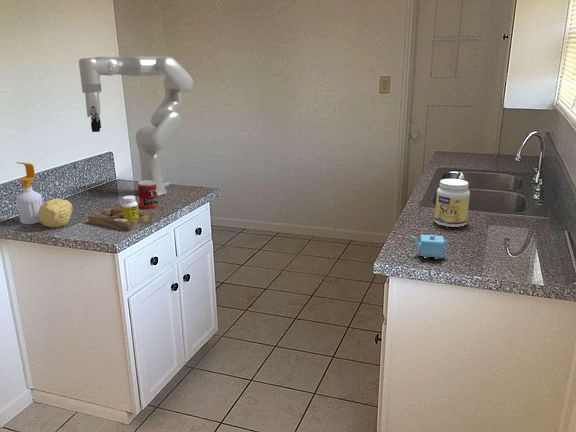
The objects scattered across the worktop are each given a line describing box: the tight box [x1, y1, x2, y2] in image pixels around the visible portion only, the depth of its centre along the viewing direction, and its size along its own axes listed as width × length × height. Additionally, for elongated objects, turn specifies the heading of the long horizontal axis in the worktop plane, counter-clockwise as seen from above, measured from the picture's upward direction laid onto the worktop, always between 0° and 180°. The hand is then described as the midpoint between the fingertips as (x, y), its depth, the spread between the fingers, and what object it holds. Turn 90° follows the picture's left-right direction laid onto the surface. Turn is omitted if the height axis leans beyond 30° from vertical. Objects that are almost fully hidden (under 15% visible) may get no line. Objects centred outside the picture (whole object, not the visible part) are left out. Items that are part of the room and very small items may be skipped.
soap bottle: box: [16, 161, 44, 225], centre depth 211 cm, size 9×9×25 cm
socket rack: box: [87, 205, 155, 232], centre depth 212 cm, size 14×22×3 cm, turn 61°
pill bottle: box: [121, 195, 140, 221], centre depth 209 cm, size 6×6×11 cm
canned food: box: [137, 180, 159, 210], centre depth 231 cm, size 8×8×11 cm
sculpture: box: [38, 198, 73, 229], centre depth 208 cm, size 12×12×11 cm
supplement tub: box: [434, 178, 471, 228], centre depth 204 cm, size 12×12×17 cm
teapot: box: [410, 234, 449, 259], centre depth 175 cm, size 12×6×8 cm, turn 77°
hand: (96, 130), depth 225 cm, fingers open, 9 cm apart
